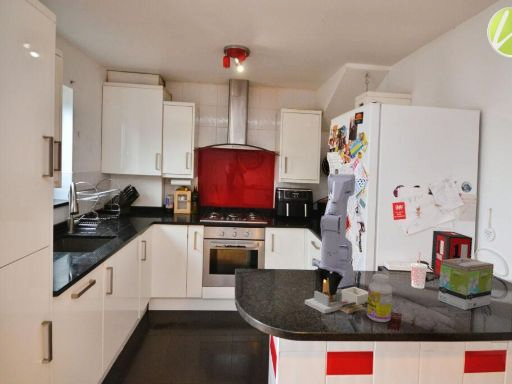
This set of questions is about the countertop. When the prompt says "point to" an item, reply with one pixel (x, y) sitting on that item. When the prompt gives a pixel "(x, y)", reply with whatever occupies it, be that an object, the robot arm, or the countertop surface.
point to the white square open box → (355, 295)
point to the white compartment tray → (325, 302)
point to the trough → (351, 307)
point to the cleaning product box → (449, 248)
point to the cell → (326, 287)
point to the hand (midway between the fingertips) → (328, 292)
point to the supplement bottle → (379, 298)
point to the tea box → (465, 283)
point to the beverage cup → (418, 274)
